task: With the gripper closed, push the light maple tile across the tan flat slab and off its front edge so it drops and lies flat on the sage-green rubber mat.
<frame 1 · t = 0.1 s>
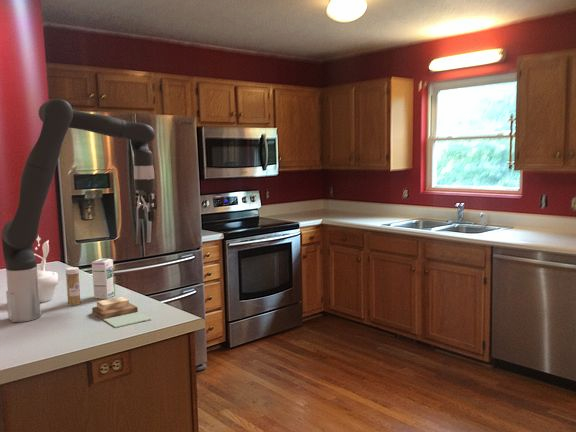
hand: (146, 220, 203), 29 cm above the table, tool pointing down, fingers open, 8 cm apart
maple tile: (113, 306, 183), point 2 cm above the table, touching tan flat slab
sprinkles bottle: (74, 304, 194), on the table
potted plant: (41, 301, 199), on the table
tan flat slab: (115, 312, 182), on the table
syrup box: (104, 297, 203), on the table
rubber mat: (127, 320, 174), on the table
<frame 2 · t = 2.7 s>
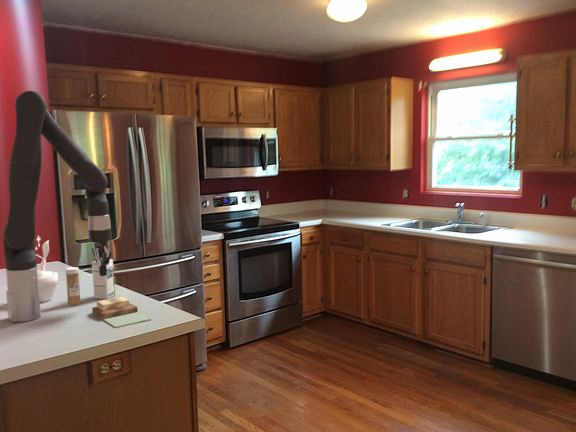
hand: (103, 275, 189), 11 cm above the table, tool pointing down, fingers closed
nothing on the table moved.
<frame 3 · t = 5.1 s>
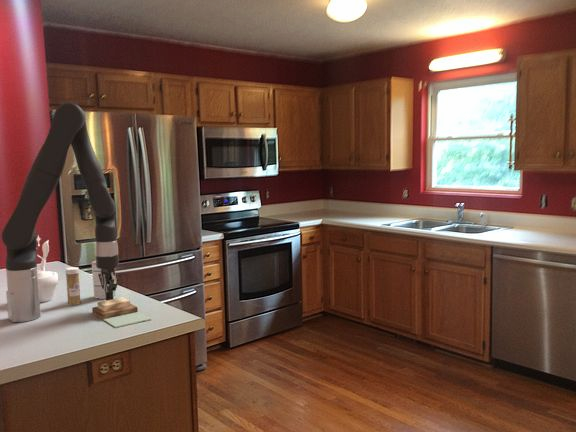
hand: (109, 301, 186), 3 cm above the table, tool pointing down, fingers closed
maple tile: (114, 307, 182), point 2 cm above the table, touching gripper
everything else where it was.
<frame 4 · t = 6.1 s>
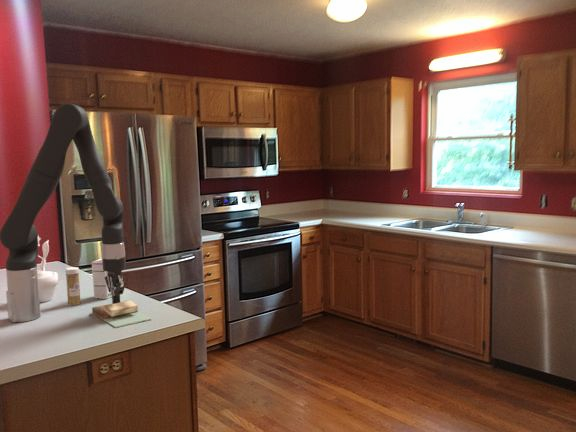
hand: (116, 305, 181), 3 cm above the table, tool pointing down, fingers closed
maple tile: (121, 311, 178), point 2 cm above the table, touching gripper, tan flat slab
everything else where it was.
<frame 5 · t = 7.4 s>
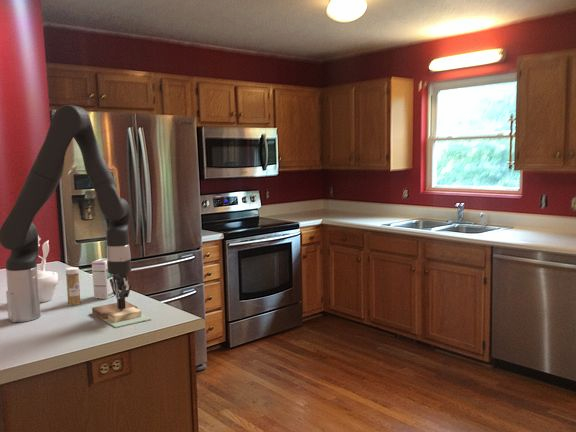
hand: (121, 308, 177), 3 cm above the table, tool pointing down, fingers closed
maple tile: (124, 317, 176), resting on rubber mat
everything else where it was.
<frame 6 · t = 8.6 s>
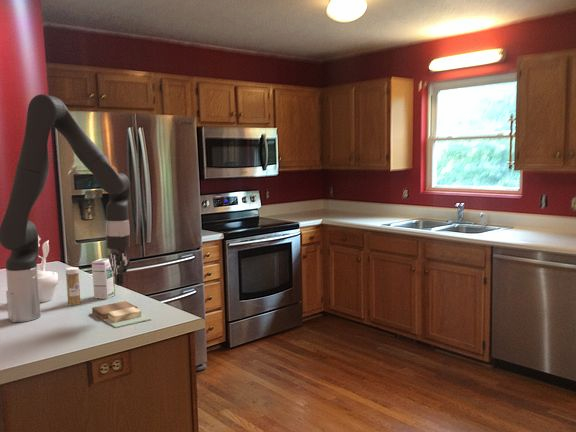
hand: (119, 284, 176), 11 cm above the table, tool pointing down, fingers closed
nothing on the table moved.
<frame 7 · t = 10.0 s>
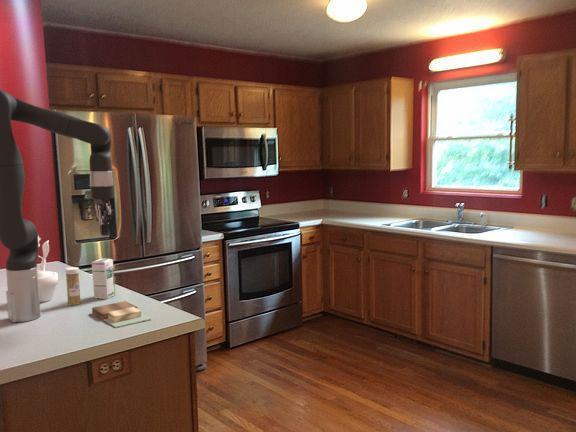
hand: (104, 235, 181), 27 cm above the table, tool pointing down, fingers closed
nothing on the table moved.
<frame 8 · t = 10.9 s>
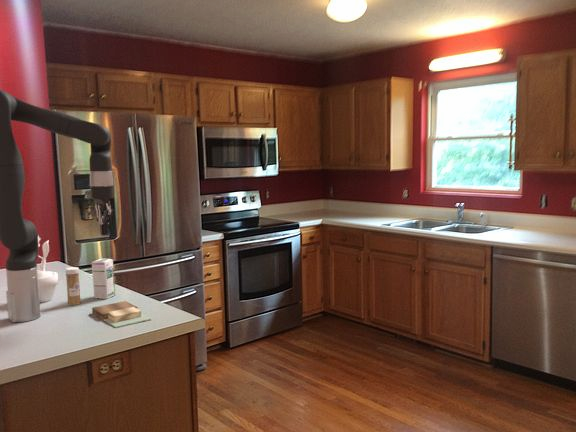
hand: (104, 235, 181), 27 cm above the table, tool pointing down, fingers closed
nothing on the table moved.
at the end: maple tile inside the target area (2.3 cm from its centre), resting on rubber mat; maple tile tilted 0°; maple tile touching rubber mat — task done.
